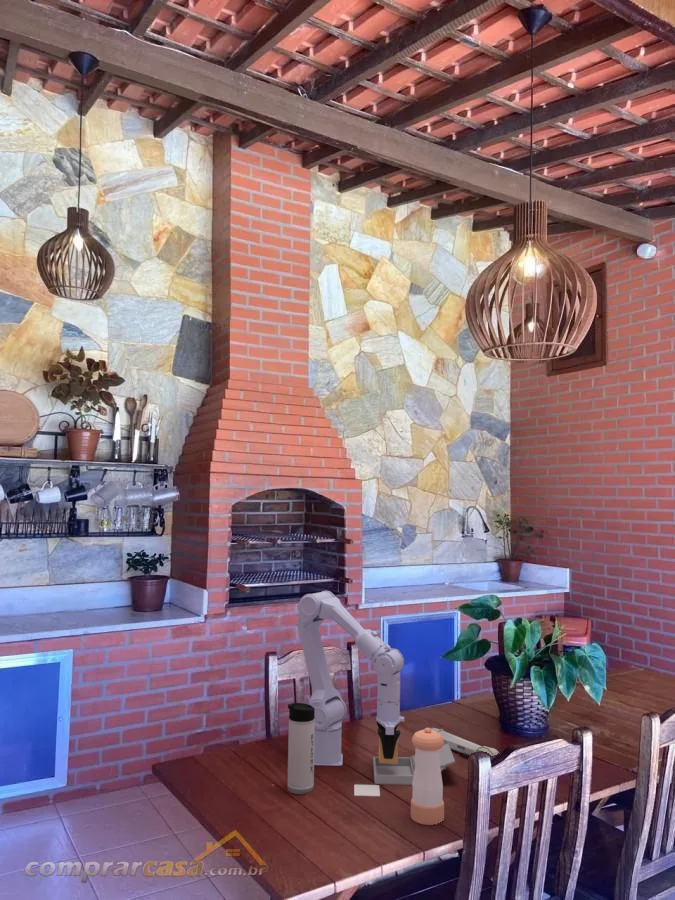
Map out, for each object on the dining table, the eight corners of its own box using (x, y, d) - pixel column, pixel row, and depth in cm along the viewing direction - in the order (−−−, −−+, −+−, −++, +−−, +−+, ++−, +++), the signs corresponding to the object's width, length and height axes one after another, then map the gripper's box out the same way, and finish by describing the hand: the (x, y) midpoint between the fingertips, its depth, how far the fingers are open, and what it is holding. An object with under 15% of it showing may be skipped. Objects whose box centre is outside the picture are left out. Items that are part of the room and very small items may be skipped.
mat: (354, 797, 163) (354, 795, 163) (354, 787, 169) (354, 784, 169) (380, 798, 163) (380, 795, 163) (379, 787, 169) (379, 785, 169)
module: (379, 763, 174) (379, 738, 174) (378, 756, 178) (379, 732, 178) (397, 763, 173) (398, 739, 174) (396, 756, 178) (396, 733, 178)
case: (374, 787, 169) (375, 760, 169) (373, 766, 182) (373, 741, 182) (455, 788, 168) (456, 762, 169) (448, 768, 181) (448, 743, 182)
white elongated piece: (436, 742, 202) (506, 767, 182) (420, 747, 198) (490, 773, 178) (436, 723, 202) (506, 746, 183) (420, 728, 198) (489, 752, 178)
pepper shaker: (403, 816, 153) (404, 727, 155) (424, 806, 159) (425, 720, 160) (430, 828, 148) (430, 736, 149) (450, 817, 153) (451, 728, 155)
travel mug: (282, 786, 169) (284, 701, 170) (308, 782, 171) (310, 699, 172) (290, 796, 163) (292, 709, 164) (317, 792, 165) (318, 706, 166)
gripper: (406, 708, 169) (405, 766, 169) (402, 691, 184) (401, 744, 183) (377, 707, 169) (376, 765, 169) (375, 691, 184) (374, 743, 183)
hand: (387, 754), depth 176 cm, fingers closed on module, 4 cm apart
